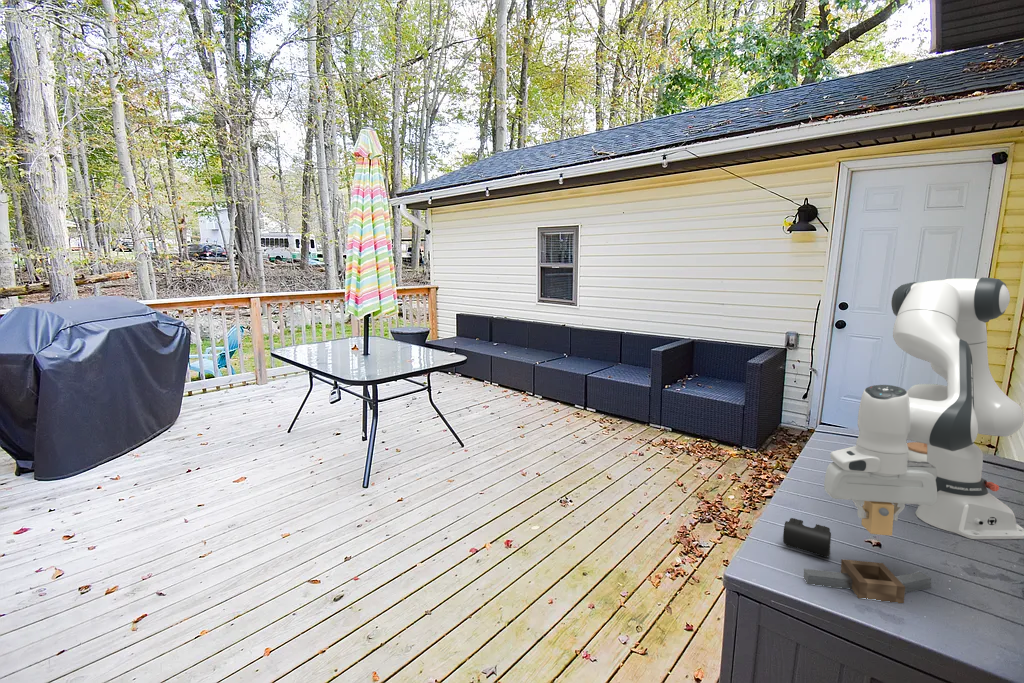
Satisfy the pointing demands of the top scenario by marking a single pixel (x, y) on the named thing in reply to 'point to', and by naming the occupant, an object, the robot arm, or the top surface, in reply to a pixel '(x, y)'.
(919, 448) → the lidded jar
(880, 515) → the block
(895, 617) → the top surface
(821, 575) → the steel shafts
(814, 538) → the end cap
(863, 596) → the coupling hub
